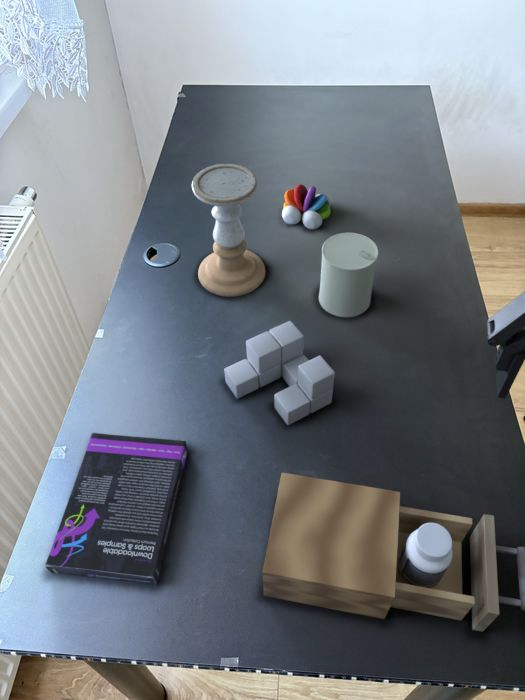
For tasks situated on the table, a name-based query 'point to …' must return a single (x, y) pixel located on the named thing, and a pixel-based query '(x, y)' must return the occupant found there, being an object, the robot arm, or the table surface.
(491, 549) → the drawer
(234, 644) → the table surface
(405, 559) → the pill bottle
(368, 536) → the cabinet
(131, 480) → the box
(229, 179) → the candle holder
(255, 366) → the grey cube puzzle piece
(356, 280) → the can
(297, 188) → the rainbow petal toy
